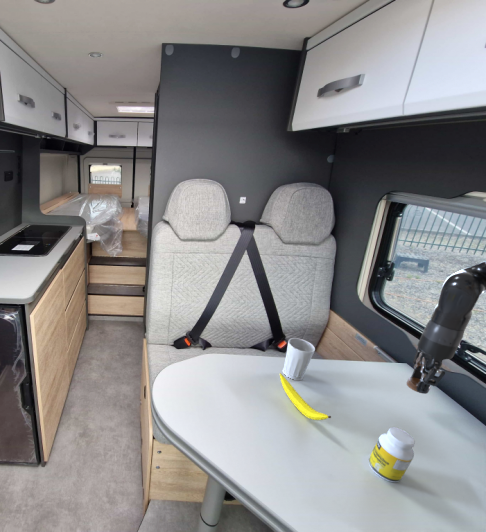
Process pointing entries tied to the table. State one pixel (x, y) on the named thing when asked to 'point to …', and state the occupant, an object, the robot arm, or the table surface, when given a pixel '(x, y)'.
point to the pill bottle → (392, 454)
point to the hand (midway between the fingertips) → (417, 385)
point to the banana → (301, 402)
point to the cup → (297, 358)
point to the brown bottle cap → (414, 383)
